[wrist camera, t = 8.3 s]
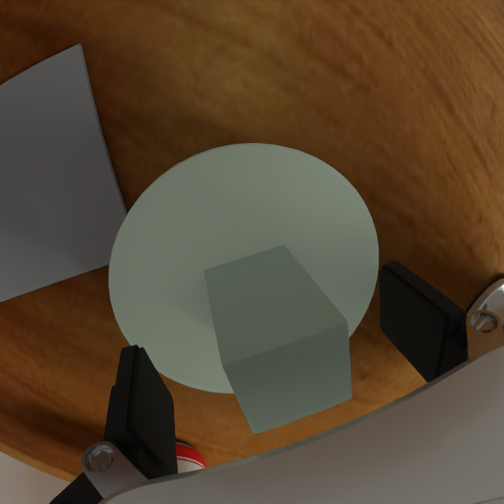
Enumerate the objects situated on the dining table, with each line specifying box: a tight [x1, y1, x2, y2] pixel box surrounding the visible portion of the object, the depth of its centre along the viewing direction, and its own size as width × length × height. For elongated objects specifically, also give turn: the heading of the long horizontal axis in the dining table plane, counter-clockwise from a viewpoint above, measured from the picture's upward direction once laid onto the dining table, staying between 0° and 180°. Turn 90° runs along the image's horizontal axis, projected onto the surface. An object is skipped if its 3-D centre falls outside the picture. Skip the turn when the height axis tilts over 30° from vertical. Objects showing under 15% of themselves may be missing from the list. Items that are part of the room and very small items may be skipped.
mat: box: [0, 44, 128, 302], centre depth 14 cm, size 12×12×1 cm
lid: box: [109, 143, 379, 434], centre depth 12 cm, size 13×13×7 cm
